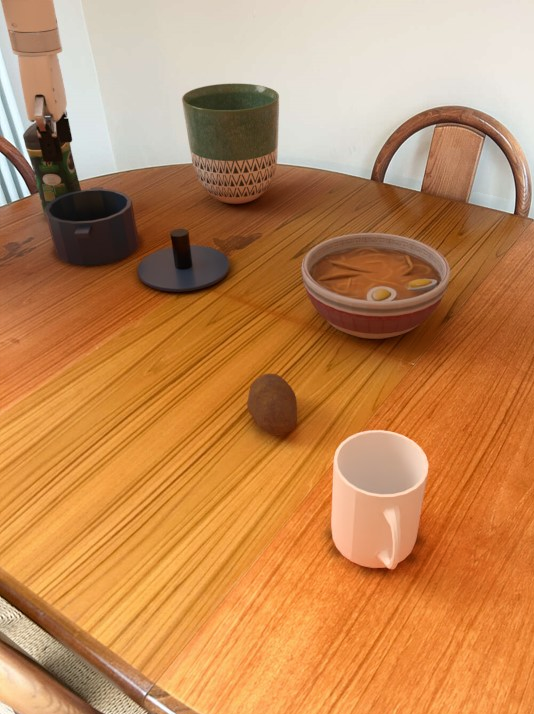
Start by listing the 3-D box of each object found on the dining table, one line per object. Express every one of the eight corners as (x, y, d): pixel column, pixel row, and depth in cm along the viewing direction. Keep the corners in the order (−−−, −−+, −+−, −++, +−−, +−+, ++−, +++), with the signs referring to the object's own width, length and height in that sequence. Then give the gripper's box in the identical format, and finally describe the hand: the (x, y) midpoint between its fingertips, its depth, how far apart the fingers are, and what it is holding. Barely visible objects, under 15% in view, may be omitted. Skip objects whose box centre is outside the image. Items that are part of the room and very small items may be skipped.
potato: (259, 449, 84) (256, 412, 80) (240, 403, 91) (236, 367, 87) (307, 438, 85) (307, 401, 81) (285, 393, 93) (284, 357, 89)
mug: (388, 493, 78) (397, 420, 70) (445, 570, 69) (462, 496, 62) (316, 519, 75) (317, 445, 67) (367, 603, 66) (375, 529, 59)
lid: (134, 297, 113) (127, 257, 108) (142, 253, 126) (135, 215, 121) (231, 291, 114) (227, 251, 110) (228, 248, 127) (225, 210, 122)
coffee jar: (51, 204, 144) (29, 115, 132) (88, 203, 144) (68, 115, 132) (40, 223, 136) (15, 131, 124) (79, 222, 137) (57, 130, 125)
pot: (46, 275, 119) (34, 231, 114) (65, 225, 135) (55, 185, 130) (133, 270, 120) (125, 227, 115) (142, 221, 137) (135, 181, 131)
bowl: (454, 360, 98) (464, 302, 92) (302, 361, 98) (302, 303, 92) (430, 283, 116) (437, 231, 110) (301, 284, 116) (300, 232, 110)
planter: (292, 187, 150) (291, 87, 137) (263, 222, 136) (259, 114, 122) (214, 178, 155) (205, 80, 141) (178, 211, 141) (165, 105, 127)
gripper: (22, 30, 110) (45, 135, 120) (-3, 53, 96) (26, 169, 107) (68, 30, 110) (87, 135, 121) (50, 53, 97) (73, 168, 108)
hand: (58, 151), depth 114 cm, fingers open, 9 cm apart
